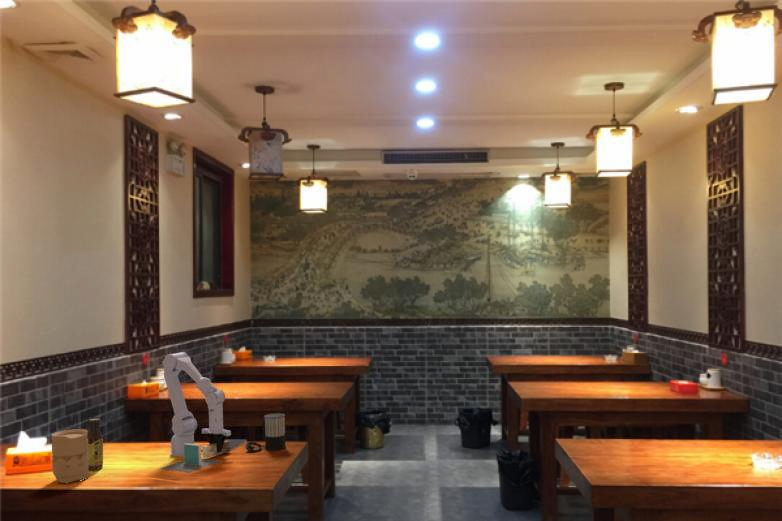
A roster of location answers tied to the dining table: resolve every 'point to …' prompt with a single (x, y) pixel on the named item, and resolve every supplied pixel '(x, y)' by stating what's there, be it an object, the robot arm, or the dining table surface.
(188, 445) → the tile
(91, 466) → the sauce bottle
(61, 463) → the container
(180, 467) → the slate mat
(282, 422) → the milk frother
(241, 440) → the notebook
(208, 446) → the long wooden beam
